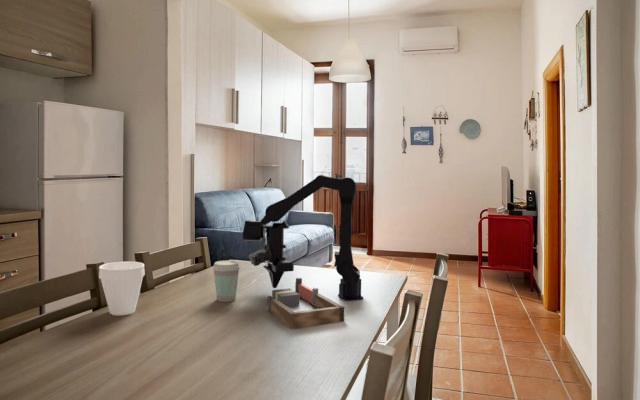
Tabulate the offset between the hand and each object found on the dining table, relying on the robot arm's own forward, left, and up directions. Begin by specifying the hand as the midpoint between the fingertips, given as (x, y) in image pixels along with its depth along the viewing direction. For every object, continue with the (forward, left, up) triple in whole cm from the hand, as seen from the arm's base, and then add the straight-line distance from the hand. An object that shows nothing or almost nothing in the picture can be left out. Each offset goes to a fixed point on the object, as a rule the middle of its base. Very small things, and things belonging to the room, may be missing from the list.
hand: (274, 287), depth 160 cm
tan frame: (0, +24, -2) cm, 24 cm away
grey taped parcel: (0, +10, -3) cm, 10 cm away
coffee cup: (+16, -1, -3) cm, 16 cm away
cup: (+47, 0, -3) cm, 47 cm away
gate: (-7, +10, -2) cm, 12 cm away
